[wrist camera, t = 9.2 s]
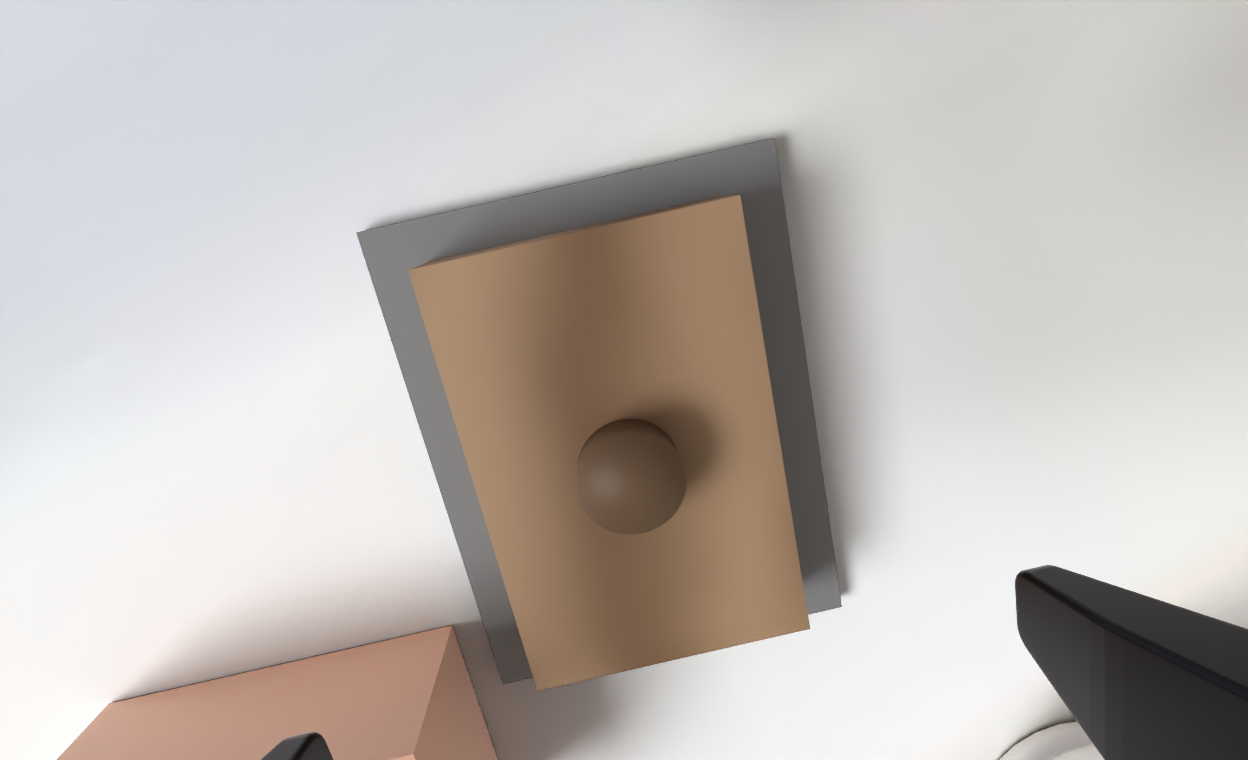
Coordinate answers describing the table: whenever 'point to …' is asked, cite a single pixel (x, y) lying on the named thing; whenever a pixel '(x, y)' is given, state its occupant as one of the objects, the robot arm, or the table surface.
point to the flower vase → (1055, 745)
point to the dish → (309, 709)
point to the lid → (621, 437)
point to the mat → (578, 207)
